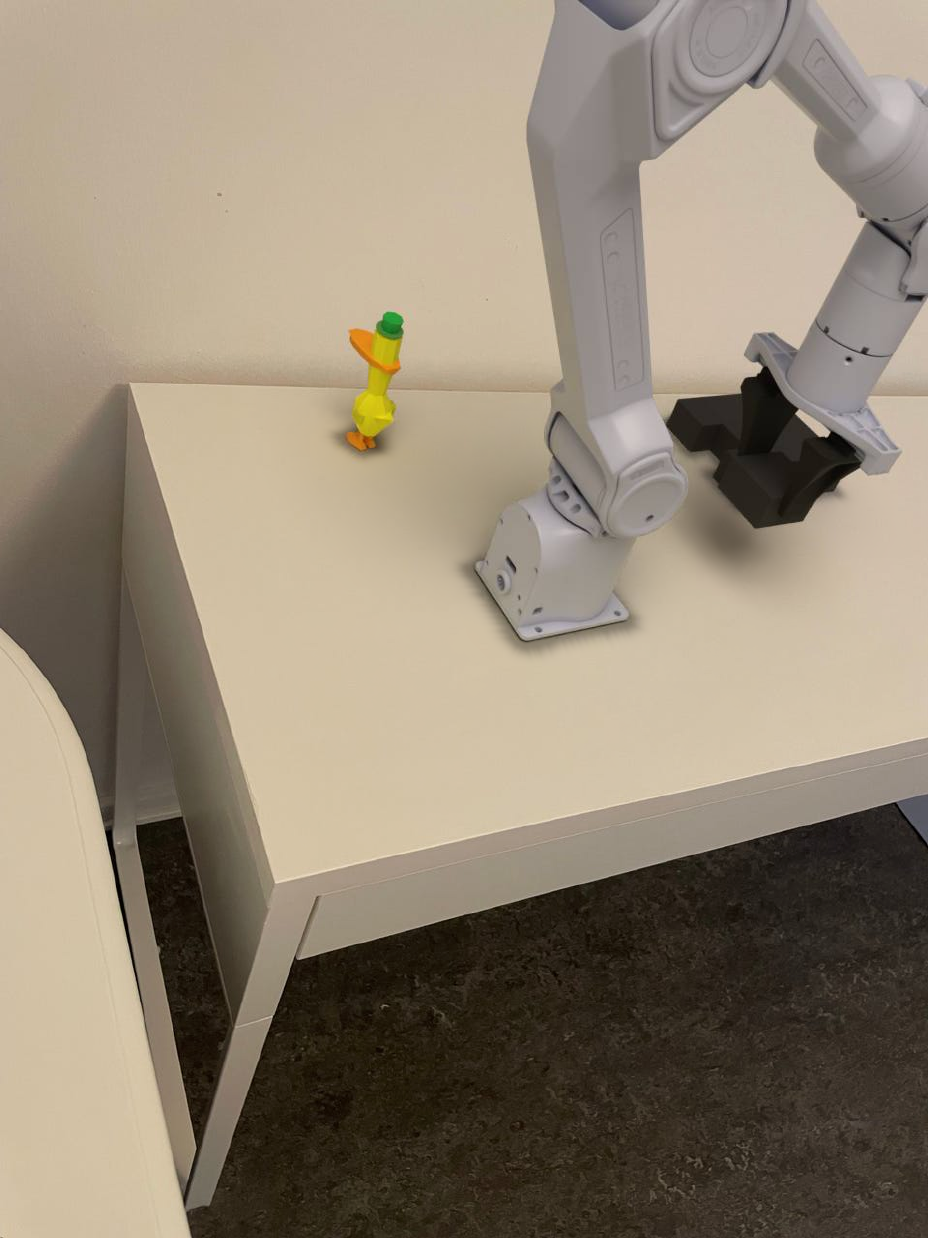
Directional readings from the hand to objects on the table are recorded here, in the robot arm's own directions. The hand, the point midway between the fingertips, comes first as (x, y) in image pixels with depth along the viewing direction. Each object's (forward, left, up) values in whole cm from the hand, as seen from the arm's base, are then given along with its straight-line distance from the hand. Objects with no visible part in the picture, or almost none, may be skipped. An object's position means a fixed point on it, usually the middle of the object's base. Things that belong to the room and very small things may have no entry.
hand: (767, 490), depth 79 cm
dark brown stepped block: (0, 0, -1) cm, 1 cm away
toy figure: (-24, +21, -9) cm, 33 cm away
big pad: (+13, +13, -8) cm, 20 cm away
